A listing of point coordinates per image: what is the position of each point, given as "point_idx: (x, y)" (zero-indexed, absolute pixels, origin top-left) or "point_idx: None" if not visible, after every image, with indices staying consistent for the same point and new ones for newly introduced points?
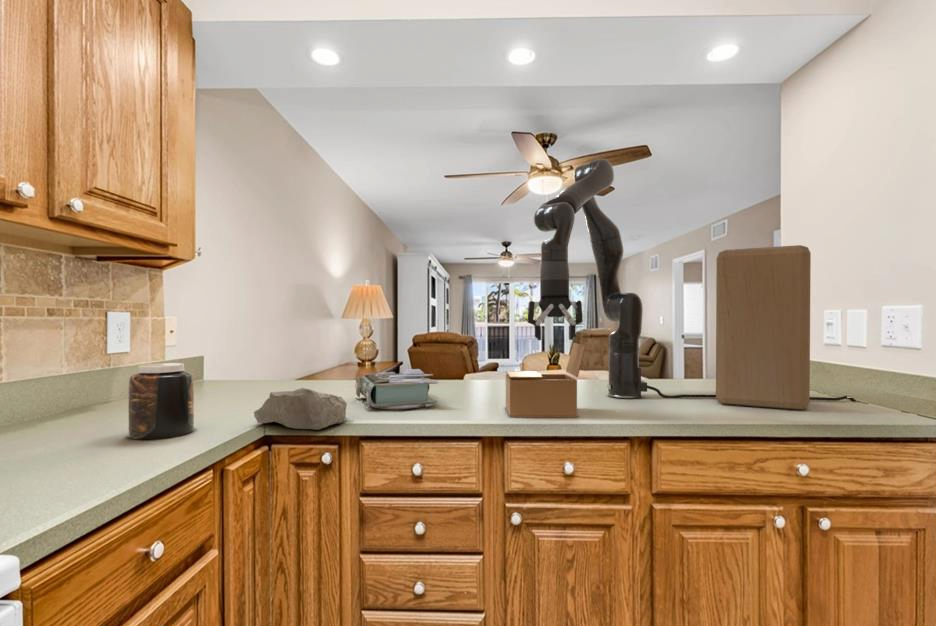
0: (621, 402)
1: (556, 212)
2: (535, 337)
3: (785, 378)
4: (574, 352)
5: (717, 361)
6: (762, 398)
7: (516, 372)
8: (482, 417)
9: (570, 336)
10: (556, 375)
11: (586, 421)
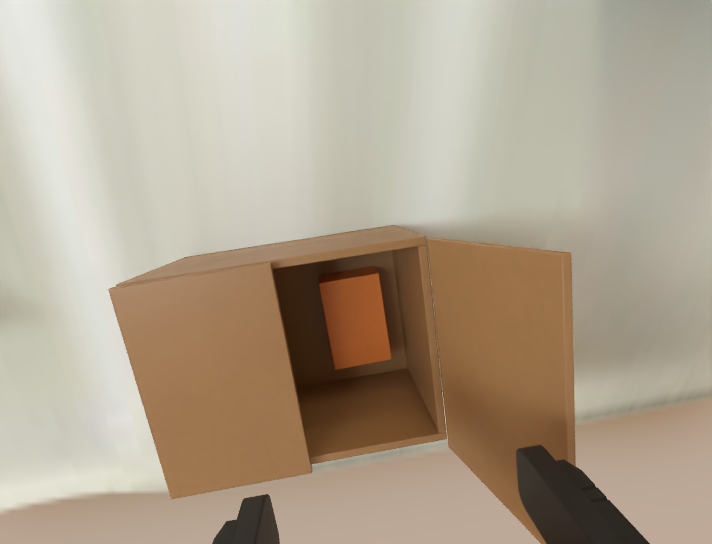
0: (608, 77)
1: None
2: (225, 527)
3: None
4: (511, 347)
5: None
6: None
7: (174, 339)
8: (140, 418)
9: (533, 519)
10: (376, 251)
11: None
